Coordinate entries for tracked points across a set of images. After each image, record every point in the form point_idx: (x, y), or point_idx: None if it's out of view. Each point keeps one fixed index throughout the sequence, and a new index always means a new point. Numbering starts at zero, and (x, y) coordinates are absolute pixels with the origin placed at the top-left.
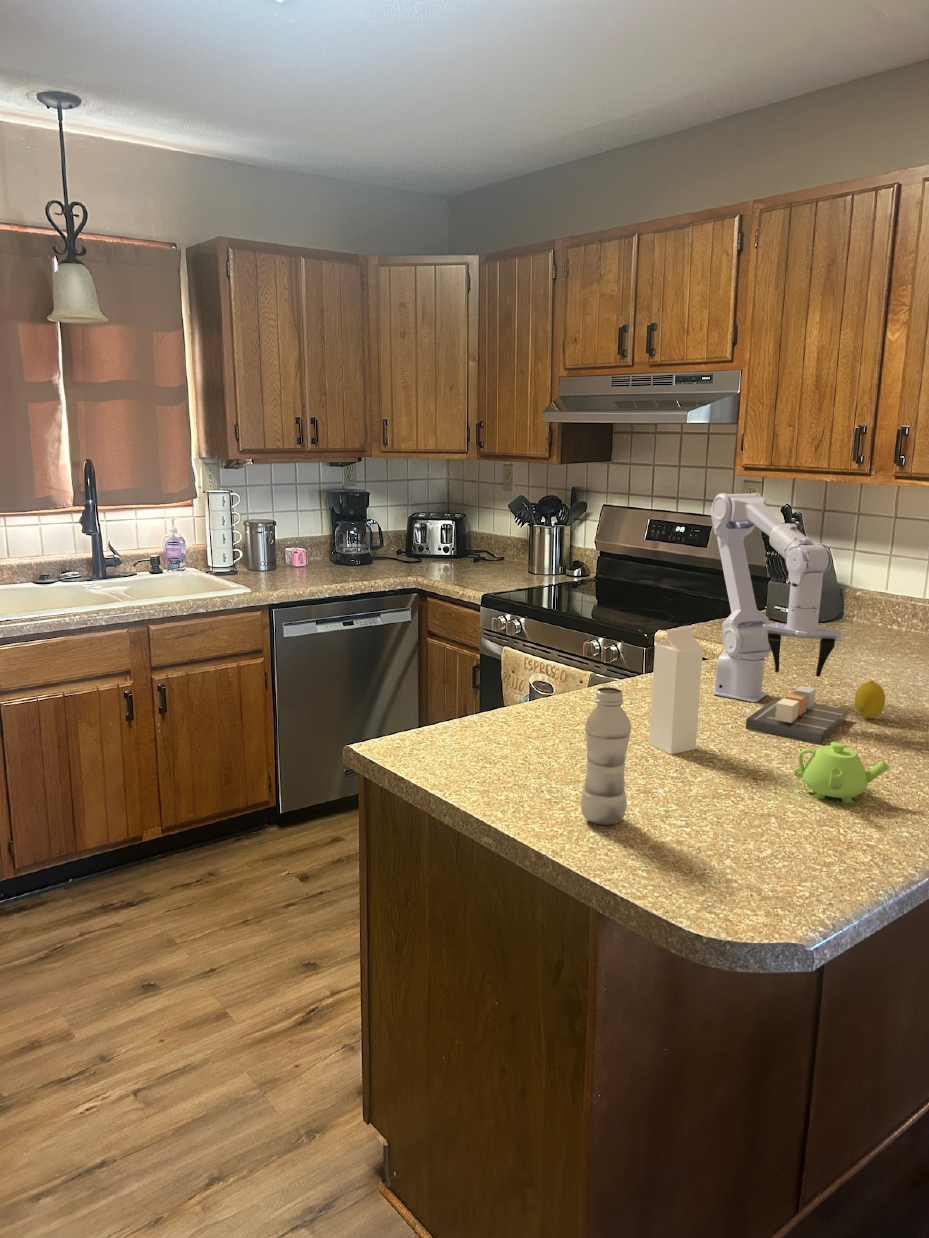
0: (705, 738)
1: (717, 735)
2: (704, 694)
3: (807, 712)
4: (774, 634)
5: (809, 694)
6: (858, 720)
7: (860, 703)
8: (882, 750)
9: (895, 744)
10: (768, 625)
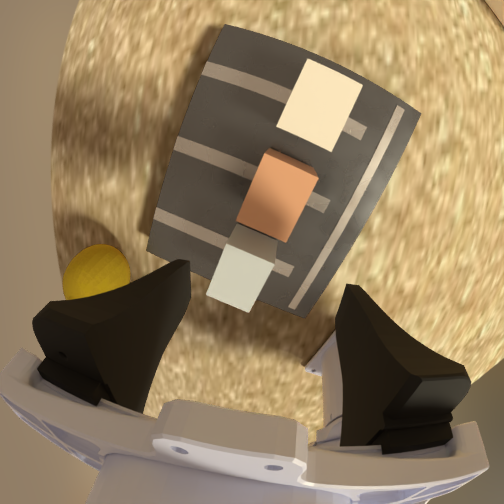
0: (480, 49)
1: (464, 65)
2: (427, 342)
3: (240, 208)
4: (422, 441)
5: (227, 241)
6: (134, 245)
7: (112, 258)
8: (107, 56)
9: (81, 107)
10: (450, 486)
